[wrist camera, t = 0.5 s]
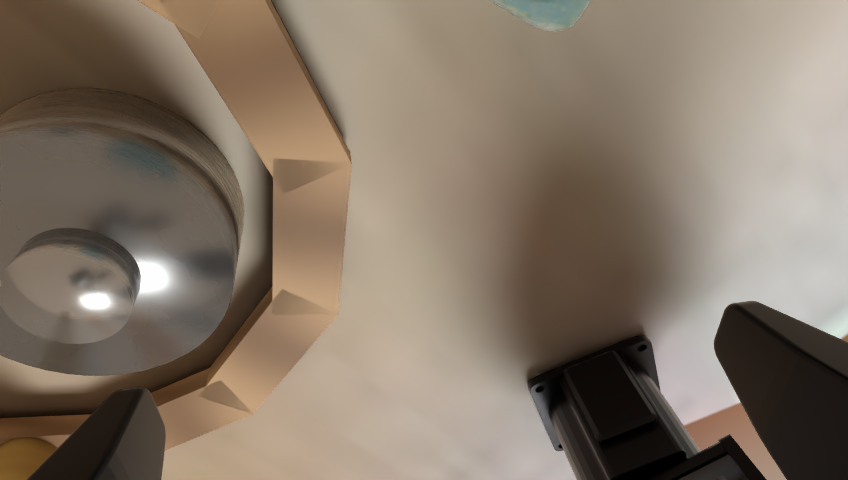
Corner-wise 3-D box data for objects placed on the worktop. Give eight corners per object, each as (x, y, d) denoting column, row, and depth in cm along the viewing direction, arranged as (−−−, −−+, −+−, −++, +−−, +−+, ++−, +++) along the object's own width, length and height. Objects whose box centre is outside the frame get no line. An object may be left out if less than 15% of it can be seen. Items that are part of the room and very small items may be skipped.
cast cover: (286, 245, 21) (283, 339, 17) (97, 328, 22) (47, 438, 18) (147, 41, 17) (93, 102, 12) (-93, 154, 17) (-223, 249, 13)
